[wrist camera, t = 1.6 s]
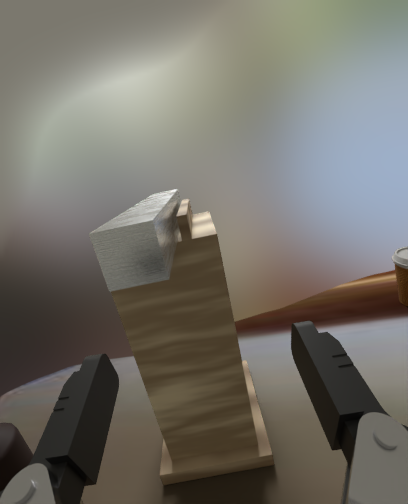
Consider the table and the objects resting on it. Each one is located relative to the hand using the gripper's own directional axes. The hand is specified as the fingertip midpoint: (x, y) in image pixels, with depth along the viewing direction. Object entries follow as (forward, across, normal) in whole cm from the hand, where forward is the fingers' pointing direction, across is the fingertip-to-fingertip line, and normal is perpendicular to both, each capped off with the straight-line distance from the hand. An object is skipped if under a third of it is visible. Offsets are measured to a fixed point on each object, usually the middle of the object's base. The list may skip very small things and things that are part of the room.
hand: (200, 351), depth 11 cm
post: (+15, +3, +35) cm, 38 cm away
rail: (+19, +4, +3) cm, 20 cm away
